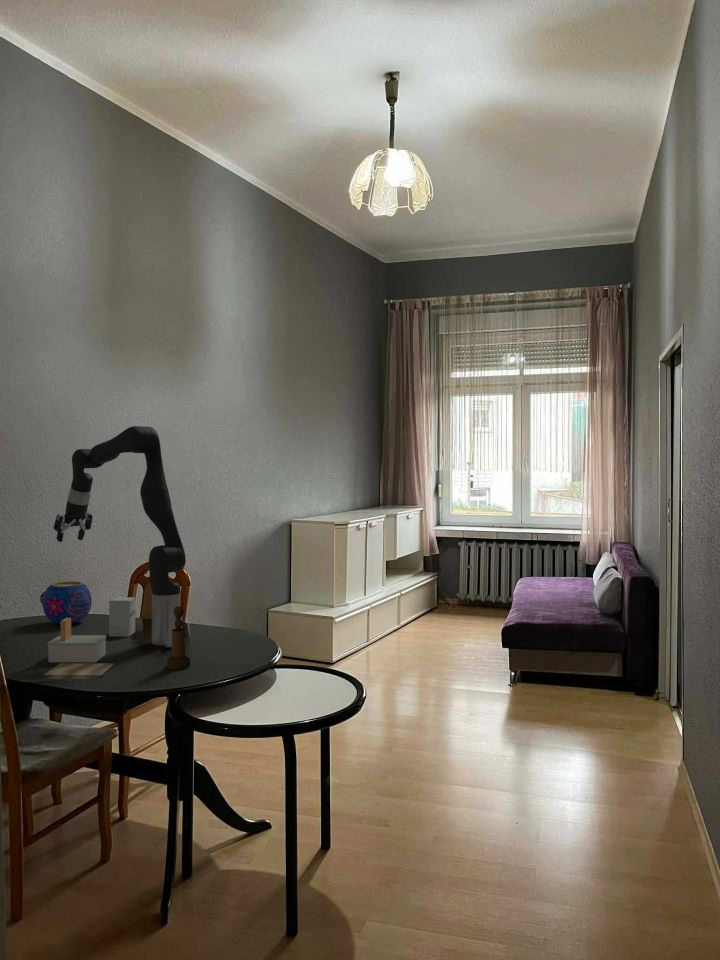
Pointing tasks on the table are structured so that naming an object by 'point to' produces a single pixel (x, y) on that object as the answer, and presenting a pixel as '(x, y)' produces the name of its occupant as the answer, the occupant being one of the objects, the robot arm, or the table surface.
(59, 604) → the ceramic pot
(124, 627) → the supplement box
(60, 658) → the tub
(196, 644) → the table surface
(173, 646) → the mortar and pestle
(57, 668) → the board
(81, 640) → the lid
